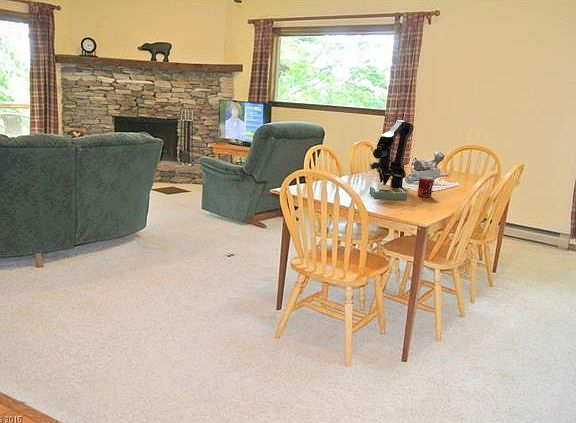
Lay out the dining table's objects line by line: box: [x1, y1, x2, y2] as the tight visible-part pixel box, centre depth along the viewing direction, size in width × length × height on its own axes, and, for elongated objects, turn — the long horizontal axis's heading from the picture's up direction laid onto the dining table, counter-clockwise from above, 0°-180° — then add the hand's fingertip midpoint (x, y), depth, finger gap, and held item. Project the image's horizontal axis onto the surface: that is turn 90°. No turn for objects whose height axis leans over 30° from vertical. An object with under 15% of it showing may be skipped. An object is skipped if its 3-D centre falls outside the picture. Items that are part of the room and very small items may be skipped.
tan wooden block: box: [378, 188, 394, 192], centre depth 295 cm, size 7×7×4 cm
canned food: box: [417, 175, 434, 199], centre depth 300 cm, size 8×8×11 cm
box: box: [369, 186, 408, 201], centre depth 296 cm, size 18×14×4 cm
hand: (382, 183), depth 310 cm, fingers open, 9 cm apart
